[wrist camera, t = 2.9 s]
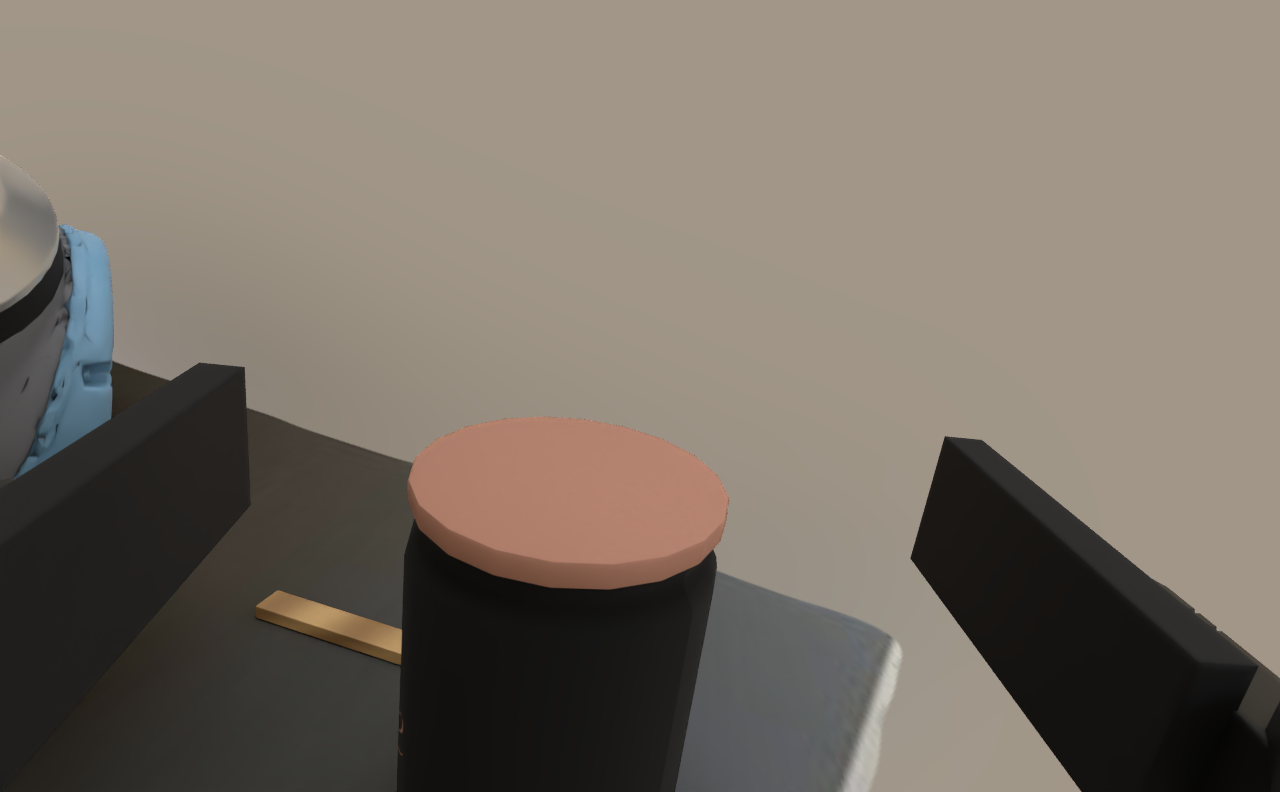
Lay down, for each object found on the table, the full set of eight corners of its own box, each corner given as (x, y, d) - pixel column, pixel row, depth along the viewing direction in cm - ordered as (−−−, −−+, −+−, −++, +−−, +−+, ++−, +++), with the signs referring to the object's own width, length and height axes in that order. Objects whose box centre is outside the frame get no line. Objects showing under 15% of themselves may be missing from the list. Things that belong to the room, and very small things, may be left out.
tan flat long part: (246, 624, 43) (245, 612, 43) (286, 595, 46) (285, 583, 46) (615, 748, 38) (617, 735, 38) (633, 705, 41) (635, 693, 41)
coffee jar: (528, 729, 39) (563, 396, 33) (705, 861, 33) (786, 488, 27) (337, 872, 30) (336, 461, 24) (529, 1081, 25) (590, 614, 19)
